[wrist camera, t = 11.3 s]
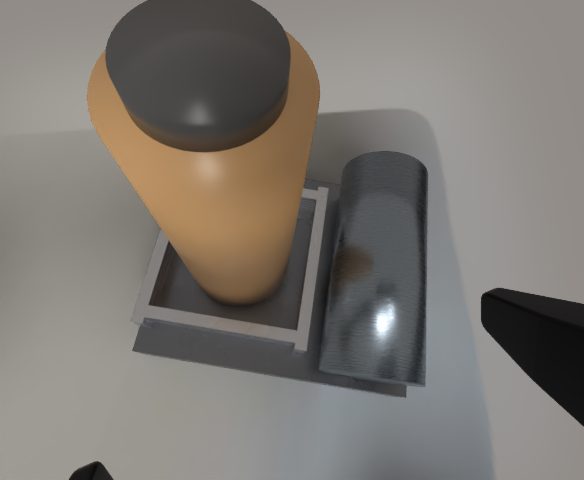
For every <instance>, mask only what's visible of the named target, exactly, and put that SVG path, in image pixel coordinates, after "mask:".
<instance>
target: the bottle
mask: <svg viewBox="0 0 584 480" xmlns="http://www.w3.org/2000/svg"><path fill="white" fill-rule="evenodd" d="M319 99H320V86H319V80H318V76H317V73H316V70H315V67H314V65H313V62H312V60H311V59H310V57H309V55H308V54H307V52H306V51H305V50H304V48H303V47H302V46H301V45H300V44H299V43H298V42H297V41H296V40H295V39H294V38H293V37H292V36H291V35H290V34H289V33H287V32H286V31H285V30H284V29H283V27H282V26H281V24H280V23H279V22H278V21H277V19H276V18H275V17H274V16H273V15H272V14H271V13H270V12H268V11H267V10H266V9H264V8H263V7H262V6H260V5H258V4H257V3H255V2H253V1H251V0H147V1H145V2H143V3H142V4H140V5H138V6H137V7H135V8H134V9H132V10H131V11H130V12H128V13H127V14H126V15H125V16H124V17H123V18H122V19H121V20H120V21H119V23H118V24H117V25H116V26H115V28H114V29H113V31H112V32H111V35H110V37H109V39H108V42H107V46H106V49H105V51H104V52H103V53H102V54H101V56H100V58H99V59H98V61H97V62H96V64H95V67H94V69H93V71H92V73H91V76H90V80H89V84H88V94H87V101H88V110H89V113H90V117H91V121H92V123H93V125H94V127H95V129H96V131H97V133H98V135H99V136H100V138H101V139H102V141H103V142H104V144H105V145H106V147H107V148H108V150H109V151H110V153H111V154H112V156H113V157H114V159H115V160H116V162H117V163H118V165H119V166H120V168H121V169H122V171H123V172H124V174H125V175H126V177H127V178H128V180H129V181H130V183H131V184H132V186H133V187H134V189H135V190H136V192H137V193H138V195H139V196H140V198H141V199H142V201H143V202H144V204H145V205H146V207H147V208H148V210H149V211H150V213H151V214H152V216H153V217H154V219H155V220H156V222H157V223H158V225H159V226H160V228H161V229H162V231H163V232H164V234H165V235H166V237H167V238H168V240H169V241H170V243H171V244H172V246H173V247H174V249H175V250H176V252H177V253H178V255H179V256H180V258H181V259H182V261H183V262H184V264H185V265H186V267H187V268H188V270H189V271H190V273H191V274H192V276H193V277H194V279H195V280H196V282H197V283H198V285H199V286H200V288H201V289H202V290H203V291H204V292H205V293H206V294H207V295H208V296H209V297H211V298H212V299H214V300H216V301H218V302H220V303H223V304H227V305H232V306H245V305H251V304H255V303H257V302H260V301H262V300H264V299H266V298H267V297H269V296H270V295H271V294H273V293H274V292H275V291H276V290H277V288H278V287H279V286H280V285H281V283H282V281H283V280H284V278H285V275H286V273H287V269H288V265H289V259H290V254H291V249H292V244H293V238H294V233H295V228H296V223H297V217H298V212H299V207H300V202H301V196H302V191H303V186H304V181H305V176H306V170H307V165H308V160H309V155H310V149H311V144H312V139H313V134H314V128H315V123H316V118H317V113H318V107H319Z"/></svg>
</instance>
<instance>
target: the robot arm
mask: <svg viewBox="0 0 584 480" xmlns="http://www.w3.org/2000/svg"><path fill="white" fill-rule="evenodd" d="M481 322H482V325H483V327H484V328H485V330H486V331H487V332H488V333H489V334H490V335H491V336H492V337H493V338H494V339H495V341H496V342H497V343H498V344H499V345H500V346H501V347H502V348H503V349H504V350H505V351H506V352H507V353H508V354H509V356H510V357H511V358H512V359H513V360H514V361H515V362H516V363H517V364H518V365H519V366H520V367H521V369H522V370H523V371H524V372H525V373H526V374H527V375H528V376H529V377H530V378H531V379H532V380H533V381H534V382H535V383H536V384H538V385H539V386H540V387H541V388H542V389H543V390H544V391H545V392H546V393H547V394H548V395H549V396H550V397H552V398H553V399H554V400H555V401H556V402H557V403H558V404H559V405H560V406H562V407H563V408H564V409H565V410H566V411H567V412H568V413H569V414H570V415H571V416H573V417H574V418H575V419H576V420H577V421H578V422H579V423H580V424H581V425H582V426H584V304H581V303H576V302H571V301H566V300H561V299H555V298H550V297H545V296H540V295H535V294H529V293H524V292H519V291H514V290H509V289H504V288H495V289H492V290H490V291H488V292H485V293H484V294H483V295H482V297H481ZM69 480H113V478H112V477H111V475H110V474H109V472H108V471H107V470H106V468H105V467H104V465H103V464H102V463H101V462H98V461H96V462H93V463H90V464H88V465H86V466H83V467H81V468H79V469H77V470H76V471H75V472H74V473H73V474H72V475H71V477H70V478H69Z"/></svg>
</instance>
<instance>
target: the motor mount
mask: <svg viewBox="0 0 584 480" xmlns="http://www.w3.org/2000/svg"><path fill="white" fill-rule="evenodd" d="M427 210H428V172H427V169H426V167H425V166H424V165H423V164H422V163H421V162H420V161H419V160H417V159H416V158H414V157H412V156H409V155H406V154H403V153H398V152H389V151H380V152H372V153H367V154H364V155H361V156H358V157H356V158H354V159H352V160H351V161H350V162H349V163H347V164H346V166H345V167H344V169H343V172H342V179H341V185H337V184H331V183H325V182H320V181H314V180H308V179H305V181H304V186H303V191H302V196H301V202H300V207H299V212H298V217H297V223H296V228H295V233H294V238H293V244H292V249H291V254H290V259H289V265H288V269H287V273H286V275H285V278H284V280H283V281H282V283H281V285H280V286H279V287H278V288H277V290H276V291H275V292H274V293H273V294H271V295H270V296H269V297H267V298H266V299H264V300H262V301H260V302H257V303H255V304H251V305H245V306H232V305H227V304H223V303H220V302H218V301H216V300H214V299H212V298H211V297H209V296H208V295H207V294H206V293H205V292H204V291H203V290H202V289H201V288H200V286H199V285H198V283H197V282H196V280H195V279H194V277H193V276H192V274H191V273H190V271H189V270H188V268H187V267H186V265H185V264H184V262H183V261H182V259H181V258H180V256H179V255H178V253H177V252H176V250H175V249H174V247H173V246H172V244H171V243H170V241H169V240H168V238H167V237H166V235H165V234H164V232H163V231H162V229H161V230H160V233H159V236H158V239H157V242H156V245H155V248H154V251H153V254H152V257H151V260H150V263H149V266H148V269H147V272H146V275H145V278H144V281H143V284H142V287H141V290H140V293H139V297H138V300H137V303H136V306H135V309H134V312H133V315H132V318H131V321H132V322H134V323H136V324H138V325H140V328H139V331H138V334H137V338H136V341H135V344H134V347H133V350H132V351H135V352H139V353H142V354H147V355H153V356H159V357H165V358H171V359H177V360H182V361H188V362H194V363H200V364H206V365H212V366H218V367H224V368H229V369H235V370H241V371H247V372H253V373H259V374H265V375H270V376H276V377H282V378H288V379H294V380H300V381H306V382H311V383H317V384H323V385H329V386H335V387H341V388H347V389H352V390H358V391H364V392H370V393H376V394H382V395H388V396H394V397H405V398H406V386H415V387H425V372H426V291H427Z"/></svg>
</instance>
